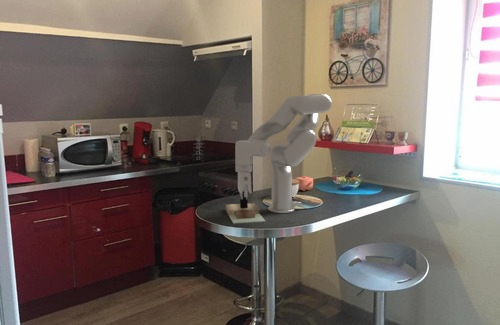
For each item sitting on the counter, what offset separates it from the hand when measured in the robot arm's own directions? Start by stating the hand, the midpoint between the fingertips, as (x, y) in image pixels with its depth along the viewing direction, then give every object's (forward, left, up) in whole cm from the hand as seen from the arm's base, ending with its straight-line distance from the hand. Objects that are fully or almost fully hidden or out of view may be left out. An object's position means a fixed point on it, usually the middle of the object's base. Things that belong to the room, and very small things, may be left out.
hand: (243, 207), depth 193 cm
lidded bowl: (-29, -30, -4) cm, 42 cm away
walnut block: (0, +4, -3) cm, 5 cm away
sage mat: (0, +6, -4) cm, 7 cm away
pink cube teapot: (-44, -45, -4) cm, 63 cm away
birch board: (0, -5, -4) cm, 6 cm away
